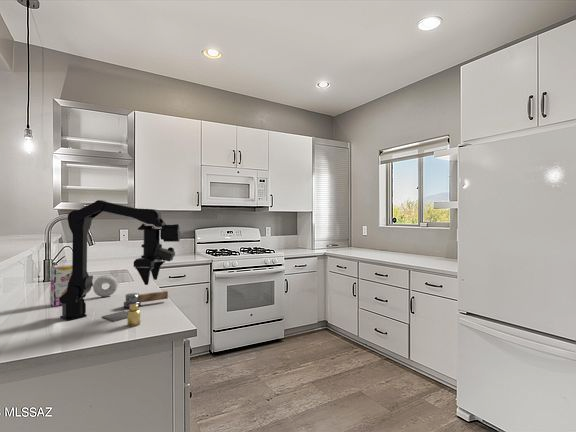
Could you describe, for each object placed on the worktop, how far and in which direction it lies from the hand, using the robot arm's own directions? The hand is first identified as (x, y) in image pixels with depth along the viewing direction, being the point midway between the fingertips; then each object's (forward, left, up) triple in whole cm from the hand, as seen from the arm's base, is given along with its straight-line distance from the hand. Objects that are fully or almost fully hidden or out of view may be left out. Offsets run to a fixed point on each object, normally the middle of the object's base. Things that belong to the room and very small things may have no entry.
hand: (151, 282), depth 127 cm
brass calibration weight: (-11, -6, -12) cm, 18 cm away
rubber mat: (-9, +7, -12) cm, 16 cm away
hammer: (+6, +13, -12) cm, 19 cm away
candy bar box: (-12, +42, -13) cm, 45 cm away
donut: (+3, +40, -13) cm, 42 cm away
